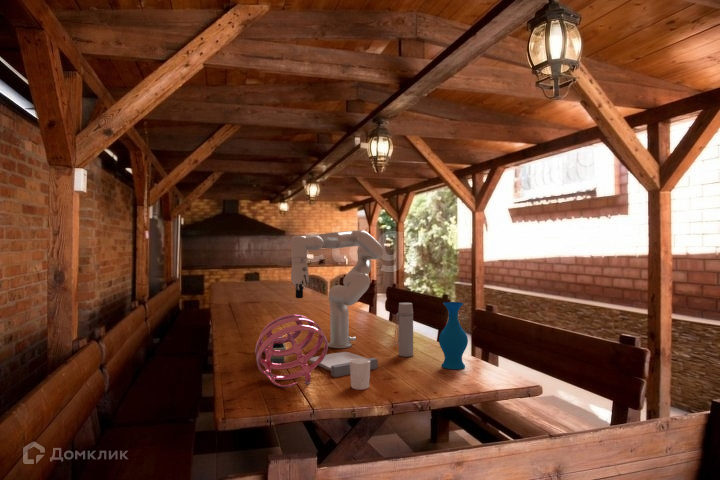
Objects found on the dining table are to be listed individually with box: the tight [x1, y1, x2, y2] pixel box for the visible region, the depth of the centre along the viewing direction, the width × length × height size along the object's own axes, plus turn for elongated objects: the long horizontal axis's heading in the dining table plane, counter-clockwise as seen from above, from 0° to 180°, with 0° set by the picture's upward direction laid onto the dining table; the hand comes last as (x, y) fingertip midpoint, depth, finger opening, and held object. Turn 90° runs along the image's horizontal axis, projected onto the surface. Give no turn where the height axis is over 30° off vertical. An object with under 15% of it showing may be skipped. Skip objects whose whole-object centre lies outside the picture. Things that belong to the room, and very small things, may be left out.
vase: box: [438, 301, 469, 371], centre depth 206 cm, size 12×13×28 cm
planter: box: [268, 336, 287, 364], centre depth 225 cm, size 28×7×7 cm, turn 13°
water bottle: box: [394, 302, 414, 358], centre depth 226 cm, size 9×8×25 cm
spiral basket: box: [254, 313, 329, 389], centre depth 183 cm, size 28×28×27 cm
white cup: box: [349, 357, 371, 391], centre depth 179 cm, size 8×8×10 cm
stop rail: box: [330, 357, 379, 378], centre depth 199 cm, size 22×3×4 cm, turn 126°
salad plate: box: [308, 351, 369, 372], centre depth 209 cm, size 21×21×3 cm
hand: (299, 297), depth 232 cm, fingers closed
